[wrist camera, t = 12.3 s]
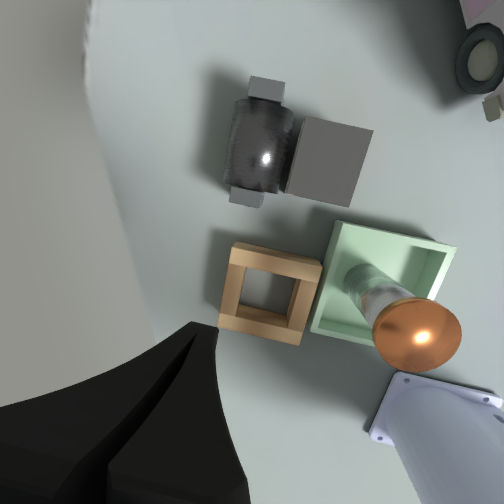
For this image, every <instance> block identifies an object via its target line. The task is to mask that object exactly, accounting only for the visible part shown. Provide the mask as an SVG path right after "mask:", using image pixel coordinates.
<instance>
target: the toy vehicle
mask: <svg viewBox="0 0 504 504" xmlns="http://www.w3.org/2000/svg"><path fill="white" fill-rule="evenodd" d="M460 4H461V8H462V12H463V16H464V20H465V24H466V28H467V30H468V29H470V28H472V27H474V26H476V25H478V24H480V23H484V24H483V25H481V26H480V27H478V28H477V29H476V30H474V31H473V32H472V33H471V34H470V35H469V36H468V38H467V39H466V40H465V42H464V43H463V44H462V46H461V47H460V50H459V53H458V56H457V59H456V75H457V79H458V81H459V83H460V86H461V87H462V88H463V89H464V90H465V91H467V92H469V93H471V94H485V93H489V92H492V91H494V92H493V93H492V94H490V95H488V96H487V97H485V98H484V100H485V101H484V102H482V104H483V108H484V112H485V115H486V119H487V121H489V122H491V121H494V120H496V119H499V118H502V117H504V0H460Z"/></svg>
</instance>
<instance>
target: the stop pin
mask: <svg viewBox="0 0 504 504" xmlns="http://www.w3.org/2000/svg"><path fill="white" fill-rule="evenodd" d="M343 286H344V290H345V292H346V293H347V294H348V296H349V297H350V299H351V300H352V302H353V303H354V304H355V306H356V307H357V309H358V310H359V311H360V313H361V314H362V316H363V317H364V319H365V320H366V321H367V323H368V324H369V326H370V327H371V328H372V340H373V343H374V345H375V347H376V348H377V350H378V351H379V353H380V355H381V356H382V357H383V359H384V360H385V361H386V362H387V363H388V364H390V365H391V366H393V367H395V368H397V369H399V370H402V371H407V372H423V371H428V370H431V369H434V368H437V367H439V366H441V365H442V364H444V363H445V362H447V361H448V360H449V359H450V358H451V357H452V356H453V355H454V354H455V352H456V351H457V349H458V347H459V345H460V342H461V336H462V332H461V326H460V324H459V321H458V320H457V318H456V317H455V316H454V314H453V313H451V312H450V311H449V310H448V309H446V308H445V307H443V306H442V305H440V304H439V303H437V302H436V301H433V300H431V299H428V298H424V297H416V296H415V295H413V294H412V293H411V292H409V291H408V290H407V289H405V288H404V287H403V286H401V285H400V284H399V283H397V282H396V281H395V280H393V279H392V278H390V277H389V276H388V275H386V274H385V273H384V272H382V271H381V270H380V269H378V268H377V267H375V266H373V265H370V264H360V265H357V266H354V267H353V268H351V269H350V270H349V271H348V272H347V274H346V275H345V277H344V281H343Z"/></svg>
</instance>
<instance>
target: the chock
mask: <svg viewBox="0 0 504 504" xmlns="http://www.w3.org/2000/svg"><path fill="white" fill-rule="evenodd" d="M372 134H373V130H368V129H363V128H359V127H354V126H350V125H345V124H340V123H336V122H331V121H326V120H322V119H317V118H313V117H308V116H306V117H305V120H304V121H303V124H302V126H301V128H300V131H299V135H298V139H297V143H296V147H295V151H294V155H293V159H292V163H291V167H290V171H289V175H288V179H287V183H286V187H285V191H284V193H286V194H290V195H295V196H299V197H304V198H308V199H312V200H317V201H321V202H326V203H330V204H335V205H339V206H344V207H349V205H350V202H351V199H352V196H353V193H354V190H355V187H356V184H357V181H358V178H359V174H360V171H361V168H362V165H363V162H364V159H365V156H366V153H367V150H368V147H369V144H370V140H371V137H372Z"/></svg>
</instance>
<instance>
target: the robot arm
mask: <svg viewBox="0 0 504 504" xmlns="http://www.w3.org/2000/svg"><path fill="white" fill-rule="evenodd" d="M218 333H219V329H218V328H217V327H213V326H209V325H205V324H201V323H196V322H192V321H191V322H189V323H188V324H186V325H185V326H183V327H182V328H181V329H179V330H178V331H176V332H175V333H174V334H172V335H171V336H169V337H168V338H166V339H165V340H163V341H162V342H160V343H159V344H157V345H156V346H154V347H153V348H151V349H149V350H147V351H146V352H144V353H142V354H141V355H139V356H137V357H135V358H134V359H132V360H130V361H128V362H126V363H124V364H122V365H120V366H118V367H116V368H114V369H111V370H109V371H107V372H105V373H102V374H100V375H97V376H95V377H92V378H90V379H87V380H85V381H83V382H80V383H78V384H75V385H72V386H69V387H66V388H63V389H61V390H57V391H54V392H51V393H48V394H45V395H42V396H39V397H35V398H32V399H28V400H25V401H21V402H17V403H14V404H10V405H6V406H3V407H0V504H251V501H250V494H249V488H248V481H247V478H246V475H245V473H244V471H243V468H242V466H241V463H240V461H239V458H238V456H237V453H236V450H235V448H234V445H233V442H232V439H231V436H230V433H229V429H228V426H227V423H226V419H225V416H224V412H223V408H222V404H221V399H220V394H219V389H218V382H217V374H216V361H215V349H216V344H217V338H218ZM406 378H407V379H406ZM404 379H406V380H404ZM502 404H503V399H502V398H501V397H500V396H499V395H496V394H492V393H488V392H483V391H479V390H475V389H471V388H466V387H462V386H458V385H454V384H450V383H445V382H441V381H437V380H433V379H428V378H424V377H420V376H416V375H412V374H407V373H403V372H397V373H395V374H394V376H393V378H392V381H391V383H390V385H389V387H388V390H387V392H386V394H385V396H384V399H383V401H382V403H381V406H380V408H379V410H378V412H377V415H376V417H375V419H374V421H373V424H372V426H371V428H370V430H369V433H368V434H369V437H370V439H371V440H373V441H377V442H381V443H385V444H389V445H393V446H395V448H396V450H397V452H398V454H399V456H400V458H401V461H402V463H403V465H404V467H405V469H406V471H407V473H408V475H409V478H410V480H411V482H412V484H413V486H414V488H415V490H416V492H417V495H418V497H419V499H420V501H421V503H422V504H504V412H503V411H501V410H500V407H501V406H502Z"/></svg>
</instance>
